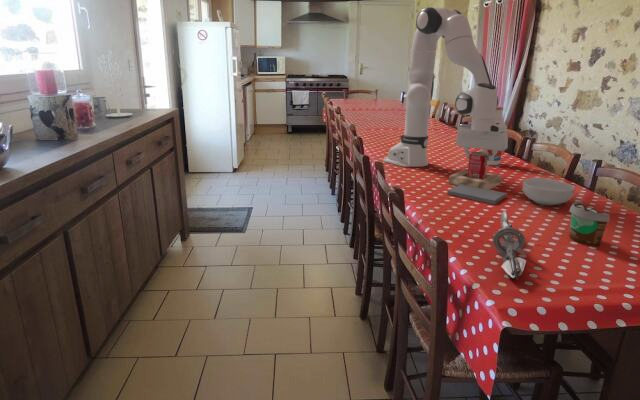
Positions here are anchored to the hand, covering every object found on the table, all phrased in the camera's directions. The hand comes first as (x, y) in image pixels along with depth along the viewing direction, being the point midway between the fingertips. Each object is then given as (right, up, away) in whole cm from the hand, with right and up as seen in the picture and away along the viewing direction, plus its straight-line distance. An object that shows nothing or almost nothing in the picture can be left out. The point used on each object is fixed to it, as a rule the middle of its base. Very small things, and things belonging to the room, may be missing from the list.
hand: (479, 159), depth 177 cm
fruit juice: (+20, +1, +39) cm, 43 cm away
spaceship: (-15, -32, -61) cm, 70 cm away
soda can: (-1, -10, +4) cm, 11 cm away
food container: (+10, -29, -51) cm, 60 cm away
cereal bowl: (+17, -18, -19) cm, 31 cm away
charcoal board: (-6, -15, -12) cm, 20 cm away
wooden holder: (-1, -10, +4) cm, 11 cm away
